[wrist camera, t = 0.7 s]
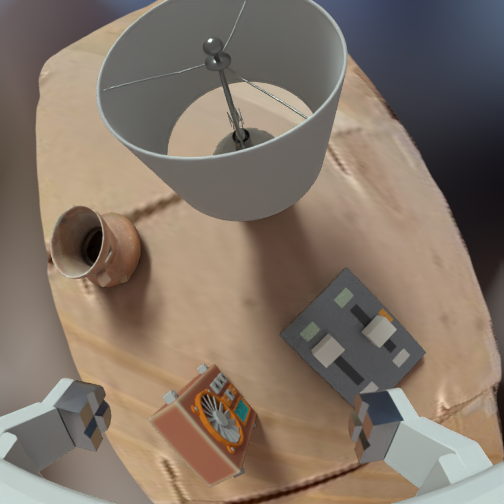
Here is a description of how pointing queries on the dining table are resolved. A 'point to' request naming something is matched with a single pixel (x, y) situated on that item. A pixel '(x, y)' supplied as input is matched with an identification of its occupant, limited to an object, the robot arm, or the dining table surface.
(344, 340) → the breaker box
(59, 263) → the ceramic jug
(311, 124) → the lamp
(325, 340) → the block
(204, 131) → the dining table surface
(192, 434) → the control panel
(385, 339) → the block
